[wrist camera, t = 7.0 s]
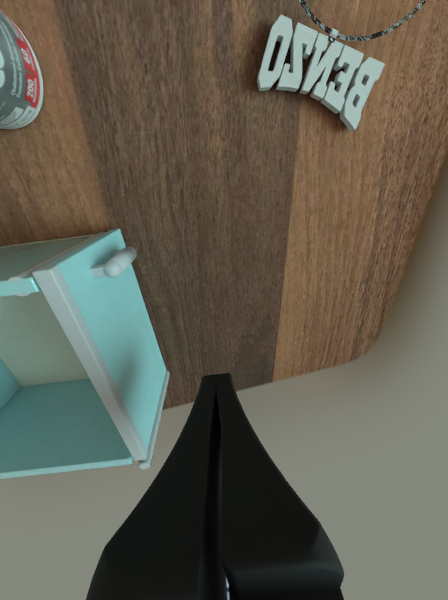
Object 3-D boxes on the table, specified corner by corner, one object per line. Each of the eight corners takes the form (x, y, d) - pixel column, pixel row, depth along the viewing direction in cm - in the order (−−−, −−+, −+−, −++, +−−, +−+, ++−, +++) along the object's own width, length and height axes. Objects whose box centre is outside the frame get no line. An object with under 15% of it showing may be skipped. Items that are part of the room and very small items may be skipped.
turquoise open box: (170, 375, 21) (151, 469, 14) (26, 392, 21) (-59, 493, 14) (125, 228, 15) (55, 271, 8) (-75, 253, 15) (-303, 316, 8)
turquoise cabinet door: (181, 368, 20) (167, 457, 14) (159, 371, 20) (134, 461, 14) (140, 225, 15) (85, 264, 8) (109, 229, 15) (30, 272, 8)
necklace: (357, 135, 13) (418, 7, 11) (364, 133, 13) (429, -2, 10) (245, 89, 12) (286, -64, 10) (247, 85, 11) (290, -79, 9)
